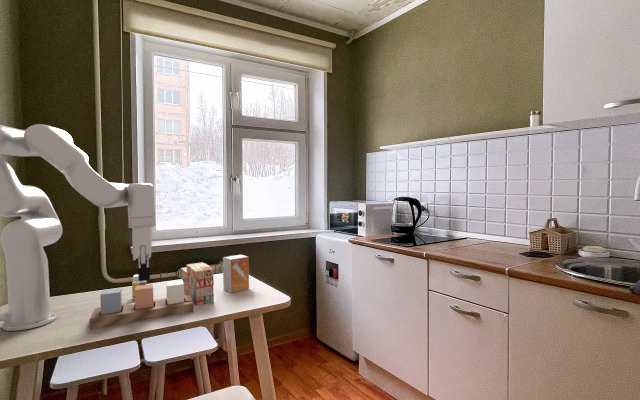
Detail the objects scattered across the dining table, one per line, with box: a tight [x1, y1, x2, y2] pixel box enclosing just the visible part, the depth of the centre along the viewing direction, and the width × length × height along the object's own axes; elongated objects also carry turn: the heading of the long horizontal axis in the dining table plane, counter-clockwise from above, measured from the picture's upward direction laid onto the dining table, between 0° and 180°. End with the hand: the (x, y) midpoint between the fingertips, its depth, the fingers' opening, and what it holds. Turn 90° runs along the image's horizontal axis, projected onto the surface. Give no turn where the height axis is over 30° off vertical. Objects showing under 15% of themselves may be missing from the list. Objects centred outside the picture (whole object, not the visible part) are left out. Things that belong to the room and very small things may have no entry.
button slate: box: [99, 287, 123, 315], centre depth 104 cm, size 5×5×6 cm
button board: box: [89, 294, 194, 330], centre depth 108 cm, size 28×10×3 cm, turn 116°
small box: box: [222, 254, 250, 293], centre depth 134 cm, size 8×6×13 cm
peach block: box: [134, 283, 154, 309], centre depth 108 cm, size 5×5×6 cm
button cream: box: [165, 279, 185, 305], centre depth 112 cm, size 5×5×6 cm
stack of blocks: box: [180, 261, 215, 307], centre depth 126 cm, size 21×6×12 cm, turn 35°
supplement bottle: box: [131, 273, 148, 300], centre depth 126 cm, size 5×5×8 cm
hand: (144, 279), depth 108 cm, fingers closed
